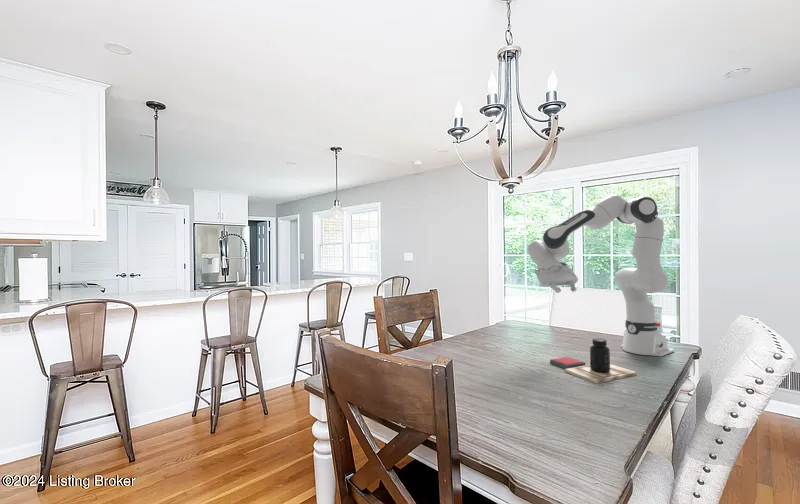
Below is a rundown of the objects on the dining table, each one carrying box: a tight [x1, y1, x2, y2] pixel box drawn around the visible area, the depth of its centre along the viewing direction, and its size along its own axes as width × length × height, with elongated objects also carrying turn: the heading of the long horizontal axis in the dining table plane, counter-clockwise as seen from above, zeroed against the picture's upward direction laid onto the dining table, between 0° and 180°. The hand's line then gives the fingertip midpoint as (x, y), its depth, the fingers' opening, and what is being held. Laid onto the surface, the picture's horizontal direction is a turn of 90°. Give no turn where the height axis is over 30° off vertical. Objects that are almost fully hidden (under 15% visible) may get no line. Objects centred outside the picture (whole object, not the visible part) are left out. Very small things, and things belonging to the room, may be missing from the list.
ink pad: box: [549, 356, 586, 370], centre depth 154 cm, size 10×9×2 cm
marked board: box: [564, 363, 638, 384], centre depth 143 cm, size 22×14×1 cm, turn 113°
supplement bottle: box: [589, 338, 611, 373], centre depth 143 cm, size 7×7×12 cm
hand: (566, 291), depth 165 cm, fingers open, 8 cm apart
